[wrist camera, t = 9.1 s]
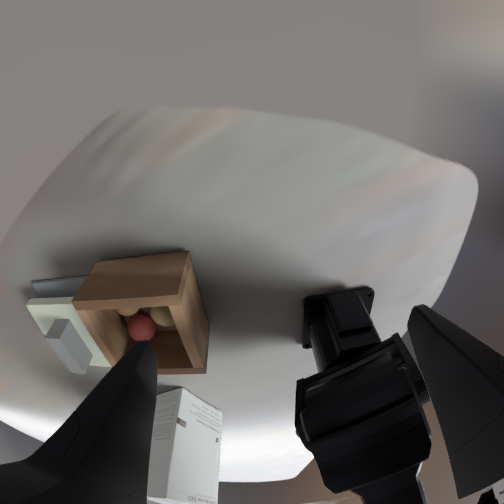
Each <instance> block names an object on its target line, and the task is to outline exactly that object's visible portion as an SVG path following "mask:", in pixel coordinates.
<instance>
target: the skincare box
mask: <svg viewBox="0 0 504 504" xmlns="http://www.w3.org/2000/svg"><path fill="white" fill-rule="evenodd" d="M221 430H222V412H221V411H220V410H218V409H216V408H214V407H212V406H210V405H209V404H207V403H205V402H204V401H202V400H200V399H199V398H197V397H196V396H194V395H193V394H191V393H190V392H189V391H187V390H186V389H184V388H179V389H175V390H172V391H169V392H165V393H162V394H158V395H157V400H156V408H155V416H154V424H153V432H152V441H151V451H150V461H149V473H148V486H147V499H148V500H151V501H155V502H158V503H161V504H217V502H218V482H219V464H220V446H221Z"/></svg>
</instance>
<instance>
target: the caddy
mask: <svg viewBox="0 0 504 504" xmlns="http://www.w3.org/2000/svg"><path fill="white" fill-rule="evenodd" d="M71 303H72V304H73V306H74V308H75V310H76V312H77V313H78V315H79V317H80V318H81V320H82V322H83V324H84V325H85V327H86V329H87V330H88V332H89V333H90V335H91V337H92V338H93V340H94V341H95V343H96V345H97V346H98V348H99V349H100V351H101V352H102V354H103V355H104V357H105V358H106V359H107V361H108V362H109V364H110V365H111V367H113V366H114V365H115V364H116V363H117V362H118V361H119V360H120V358H121V357H122V356H123V355H124V354H125V353H126V352H127V351H128V350H129V348H130V347H131V346H132V345H133V344H134V343H135V342H136V341H137V340H148V341H149V342H150V343H151V345H152V347H153V349H154V351H155V353H156V355H157V358H158V371H157V374H206V370H207V356H208V344H209V332H210V327H209V323H208V320H207V316H206V313H205V309H204V306H203V302H202V298H201V295H200V291H199V287H198V284H197V280H196V276H195V272H194V268H193V264H192V260H191V256H190V252H189V251H182V252H173V253H165V254H156V255H148V256H140V257H132V258H123V259H115V260H107V261H99V262H96V264H95V265H94V267H93V268H92V270H91V271H90V273H89V274H88V276H87V277H86V279H85V280H84V282H83V283H82V285H81V286H80V288H79V289H78V291H77V293H76V294H75V296H74V297H73V299H72V301H71Z"/></svg>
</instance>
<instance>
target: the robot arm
mask: <svg viewBox="0 0 504 504" xmlns="http://www.w3.org/2000/svg"><path fill="white" fill-rule="evenodd" d="M368 293H369V294H368ZM373 299H374V291H373V289H372V288H363V289H357V290H351V291H344V292H337V293H331V294H324V295H317V296H309V297H306V298H304V300H303V317H302V347H303V348H304V349H309V348H312V349H313V353H314V357H315V360H316V364H317V369H318V373H317V374H314V375H312V376H310V377H307V378H305V379H304V378H302V379H300V380H297V386H296V404H295V428H296V434H297V436H298V437H300V439H301V441H302V443H303V444H304V446H305V447H306V448H307V449H308V450H309V451H310V452H312V454H313V455H314V458H315V460H316V462H317V464H318V467H319V470H320V472H321V476H322V479H323V482H324V485H325V486H326V487H327V488H328V489H329V490H331V491H332V492H333V493H335V494H337V493H341V492H345V491H350V492H352V493H354V494H356V495H358V496H359V497H360V498H361V500H362V502H363V504H428V500H427V497H426V494H425V490H424V487H423V483H422V480H421V477H420V474H419V471H420V468H421V466H422V463H423V461H425V460H427V459H428V458H429V454H430V449H431V441H430V438H431V431H430V428H429V425H428V422H427V419H426V416H425V413H424V411H423V408H422V406H424V405H426V404H428V403H429V402H430V397H429V394H430V396H431V399H432V402H433V405H434V408H435V411H436V414H437V417H438V420H439V424H440V426H441V430H442V433H443V437H444V440H445V444H446V447H447V451H448V455H449V459H450V463H451V467H452V471H453V475H454V480H455V484H456V490H457V495H458V499H461V498H464V497H466V496H468V495H471V494H473V493H475V492H478V491H480V490H482V489H484V488H486V487H488V486H490V485H492V487H491V488H490V489H488V490H487V491H486V492H484V493H483V494H481V497H480V499H479V502H478V504H504V356H502V355H501V354H499V353H498V352H495V350H493V349H492V348H490V347H489V346H488V345H486V344H485V343H483V342H482V341H480V340H479V339H477V338H476V337H474V336H472V335H471V334H470V333H468V332H467V331H465V330H464V329H462V328H461V327H459V326H458V325H456V324H454V323H453V322H451V321H450V320H448V319H447V318H445V317H443V316H442V315H440V314H439V313H437V312H435V311H434V310H432V309H431V308H429V307H428V306H426V305H424V304H421V305H417V306H414V307H413V309H412V311H411V314H410V317H409V320H408V324H407V327H408V331H409V334H410V338H411V341H412V344H413V348H414V351H415V355H416V358H417V361H418V364H419V367H420V370H421V372H422V375H423V377H424V380H425V382H424V380H423V378H422V375H421V373H420V371H419V369H418V367H417V365H416V363H415V361H414V360H413V358H412V356H411V354H410V353H409V351H408V349H407V348H406V346H405V344H404V343H403V341H402V339H401V337H400V336H399V334H398V333H395V334H393V335H392V337H390V338H388V339H387V340H385V341H383V342H382V341H381V339H380V337H379V335H378V333H377V331H376V329H375V327H374V324H373V322H372V320H371V318H370V312H371V308H372V303H373ZM308 302H310V303H308ZM157 371H158V358H157V355H156V353H155V351H154V349H153V347H152V345H151V343H150V342H149V341H148V340H137V341H136V342H135V343H134V344H133V345H132V346H131V347H130V348H129V350H128V351H127V352H126V353H125V354H124V355H123V356H122V357H121V358H120V360H119V361H118V362H117V363H116V364H115V365H114V366H113V367H112V369H111V370H110V371H109V372H108V373H107V374H106V375H105V377H104V378H103V379H102V380H101V381H100V382H99V383H98V384H97V386H96V387H95V388H94V389H93V390H92V391H91V393H90V394H89V395H88V396H87V397H86V398H85V399H84V401H83V402H82V403H81V404H80V405H79V406H78V408H77V409H76V410H75V411H74V412H73V413H72V414H71V416H70V417H69V418H68V419H67V420H66V421H65V422H64V424H63V425H62V426H61V427H60V428H59V429H58V430H57V431H56V432H55V433H54V434H53V435H52V436H51V437H50V438H49V439H48V440H47V441H46V442H45V443H44V444H43V445H42V446H41V447H39V449H38V450H37V451H35V452H34V454H32V455H31V456H29V457H28V458H26V459H24V460H21V461H18V462H12V463H7V464H1V465H0V504H147V502H146V501H147V486H148V473H149V461H150V451H151V441H152V432H153V424H154V416H155V408H156V400H157ZM425 383H426V385H425ZM426 386H427V388H428V391H429V394H428V391H427V388H426Z"/></svg>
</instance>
